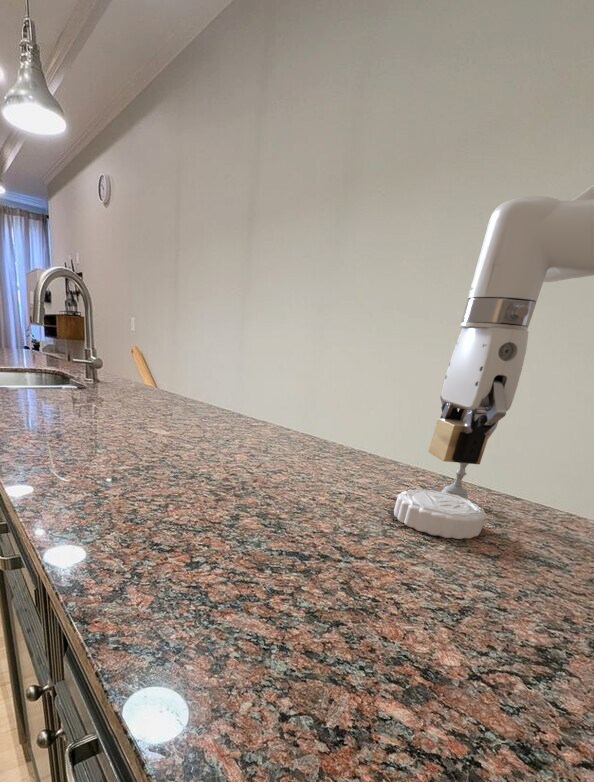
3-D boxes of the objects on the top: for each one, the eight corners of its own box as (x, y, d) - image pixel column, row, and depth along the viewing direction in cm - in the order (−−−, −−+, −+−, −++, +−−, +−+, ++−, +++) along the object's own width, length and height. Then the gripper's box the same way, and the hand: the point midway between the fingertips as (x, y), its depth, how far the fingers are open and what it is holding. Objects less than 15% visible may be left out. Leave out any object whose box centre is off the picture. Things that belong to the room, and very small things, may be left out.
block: (461, 455, 66) (472, 421, 64) (479, 464, 61) (491, 428, 59) (427, 452, 66) (437, 418, 64) (443, 461, 61) (454, 425, 59)
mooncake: (493, 545, 61) (501, 521, 59) (401, 532, 63) (407, 508, 61) (464, 513, 72) (471, 492, 70) (387, 502, 73) (392, 482, 72)
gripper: (574, 318, 48) (516, 477, 55) (487, 321, 64) (451, 444, 71) (506, 312, 48) (456, 472, 55) (436, 316, 64) (404, 440, 71)
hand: (454, 455), depth 63 cm, fingers closed on block, 5 cm apart
